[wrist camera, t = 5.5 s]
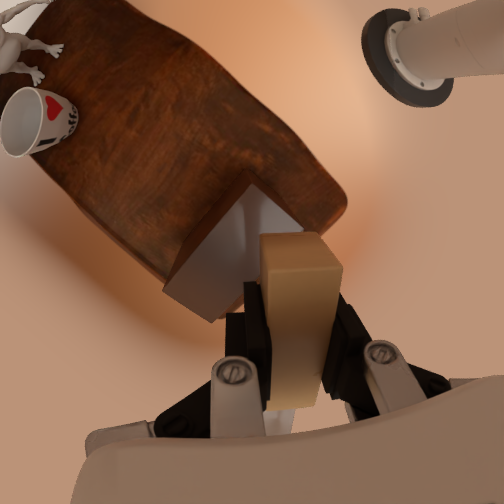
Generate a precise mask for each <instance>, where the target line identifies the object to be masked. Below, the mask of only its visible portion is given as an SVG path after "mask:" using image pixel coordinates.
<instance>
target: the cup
mask: <svg viewBox="0 0 504 504" xmlns="http://www.w3.org/2000/svg"><path fill="white" fill-rule="evenodd" d="M77 123H78V111H77V109H76V107H75V106H74V105H73V104H72V103H71V102H69V101H68V100H67V99H66V98H64V97H61V96H59V95H57V94H55V93H53V92H50V91H46V90H41V89H37V88H32V87H24V88H22V89H20V90H18V91H17V92H16V93H14V94H13V96H12V97H11V98H10V99H9V101H8V102H7V104H6V106H5V108H4V111H3V114H2V117H1V121H0V140H1V144H2V147H3V149H4V150H5V152H6V153H7V154H8V155H9V156H11V157H14V158H18V157H22V156H25V155H28V154H31V153H34V152H38V151H41V150H44V149H46V148H48V147H50V146H52V145H55V144H57V143H59V142H61V141H62V140H63V139H65V138H66V137H68V136H69V135H71V134H72V132H73V131H74V130H75V128H76V126H77Z"/></svg>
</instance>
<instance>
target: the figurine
mask: <svg viewBox="0 0 504 504" xmlns="http://www.w3.org/2000/svg"><path fill="white" fill-rule="evenodd" d="M51 2H53V0H51ZM36 3H37V4H42V3H47V4H50V1H49V0H30V1H27V2H23V3H20V4H18V5H16V6H15V7H13V8H10V9H8V10H6V11H4V12H2V13H0V73H8V72H13V71H14V72H16V73H30V74H31V75H32V78H33V81H34V86H37V81H38V83H41V80H40V77H41V79H43V78H44V77H45V75H43V74H42V72H40V71H38V67H37V66H35V67H33V68H30V67H27V66H26V65H25V64H24V63H23V62H19V63H18V62H16V61H17V59H18V58H19V55H20V52H21V51H23V50H26V49H31V50H35V49H44V50H45V51H46V53H51V55H53V56H55V58H58V57H59V54H57V52H59V53H61V52H62V49H59V48H62V47H63V46H64V44H61V45H52V46H50V45H46V44H44V43H42V42H41V41H40V40H38V39H36V40H30V39H28V38H27V37H26V36H25V35H22V34H19V33H8V32H5V30H4V29H3V28H2V24H5V23H7V22H9V21H10V20H11V19H12V18H13V17H14V16H15V15H17V14H19V13H20V12H22V11H23V10H25V9H26V8H28V7H29V6H31V5H33V4H36Z"/></svg>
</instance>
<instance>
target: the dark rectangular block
mask: <svg viewBox="0 0 504 504" xmlns="http://www.w3.org/2000/svg"><path fill="white" fill-rule="evenodd" d="M303 230H304V227H303V226H302V224H301V223H300V222H299V220H298V219H297V218H296V216H295V215H294V214H293V212H292V211H291V209H290V208H289V207H288V205H287V204H286V203H285V201H284V200H283V199H282V198H281V197H280V196H279V195H278V194H277V193H276V192H275V191H273V190H272V189H271V188H270V187H269V186H268V185H266V184H265V183H264V182H263V181H262V180H261V179H259V178H258V177H257V176H256V175H255V174H254V173H252V172H251V171H250V170H249V169H248V168H245V169H244V170H243V172H242V173H241V174H240V175H239V176H238V177H237V178H236V180H235V181H234V182H233V183H232V184H231V185H230V186H229V188H228V189H227V190H226V191H225V192H224V193H223V195H222V196H221V197H220V198H219V199H218V201H217V202H216V203H215V204H214V205H213V207H212V208H211V209H210V210H209V211H208V213H207V214H206V215H205V216H204V217H203V219H202V220H201V221H200V222H199V224H198V225H197V226H196V227H195V229H194V230H193V231H192V232H191V234H190V235H189V236H188V237H187V239H186V240H185V241H184V242H183V244H182V246H181V248H180V251H179V253H178V255H177V257H176V260H175V262H174V264H173V266H172V269H171V271H170V273H169V276H168V278H167V280H166V283H165V285H164V287H163V290H162V291H163V292H164V293H166V294H167V295H169V296H170V297H171V298H173V299H174V300H176V301H177V302H179V303H180V304H182V305H183V306H185V307H186V308H188V309H189V310H191V311H193V312H194V313H196V314H197V315H199V316H200V317H202V318H203V319H205V320H207V321H208V322H210V323H213V322H214V321H215V320H216V319H217V318H218V317H219V316H220V315H221V314H222V313H223V312H224V311H225V310H226V309H227V308H228V307H229V306H230V305H231V304H232V303H233V302H234V301H235V300H236V299H237V298H238V297H239V296H240V295H241V294H242V293H243V292H244V288H243V282H248V281H255V280H256V279H257V278H258V277H259V276H260V258H259V235H260V234H261V233H286V232H302V231H303Z"/></svg>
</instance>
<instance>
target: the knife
mask: <svg viewBox="0 0 504 504" xmlns="http://www.w3.org/2000/svg"><path fill="white" fill-rule="evenodd" d="M259 258H260V286H261V292H262V298H263V304H264V310H265V316H266V322H267V326H268V327H269V329H270V335H271V341H272V374H271V395H270V401H267V409H266V410H265V411H264V412H263V417H264V424H265V431H266V436H274V435H284V434H290V433H291V428H292V423H293V418H294V413H295V409H296V408H304V407H311V406H314V405H315V402H316V398H317V394H318V391H319V387H320V383H321V378H322V373H323V369H324V365H325V361H326V356H327V352H328V347H329V343H330V338H331V333H332V328H333V323H334V320H335V315H336V309H337V304H338V298H339V291H340V285H341V279H342V273H343V266H342V264H341V263H340V262H339V261H338V259H337V258H336V257H335V255H334V254H333V253H332V251H331V250H330V249H329V247H328V246H327V245H326V244H325V242H324V241H323V240H322V239H321V237H320V236H319V235H318V234H317V232H286V233H261V234H260V235H259Z"/></svg>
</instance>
